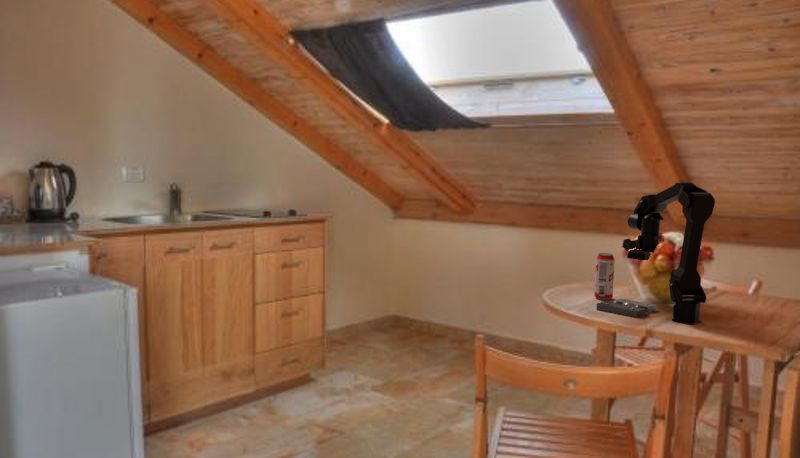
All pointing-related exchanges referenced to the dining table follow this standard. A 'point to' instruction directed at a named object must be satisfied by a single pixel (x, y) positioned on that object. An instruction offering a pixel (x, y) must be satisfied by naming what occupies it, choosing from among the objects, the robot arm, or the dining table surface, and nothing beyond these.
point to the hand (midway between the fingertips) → (647, 278)
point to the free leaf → (631, 303)
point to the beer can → (604, 276)
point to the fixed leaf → (622, 308)
